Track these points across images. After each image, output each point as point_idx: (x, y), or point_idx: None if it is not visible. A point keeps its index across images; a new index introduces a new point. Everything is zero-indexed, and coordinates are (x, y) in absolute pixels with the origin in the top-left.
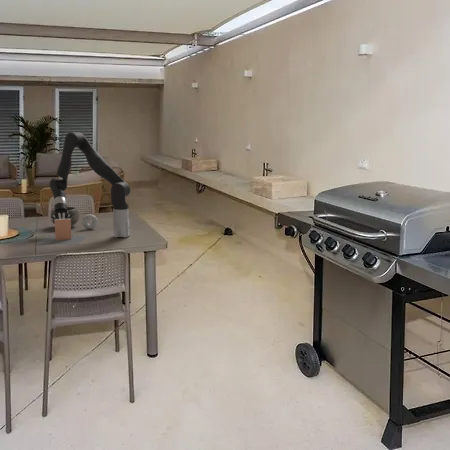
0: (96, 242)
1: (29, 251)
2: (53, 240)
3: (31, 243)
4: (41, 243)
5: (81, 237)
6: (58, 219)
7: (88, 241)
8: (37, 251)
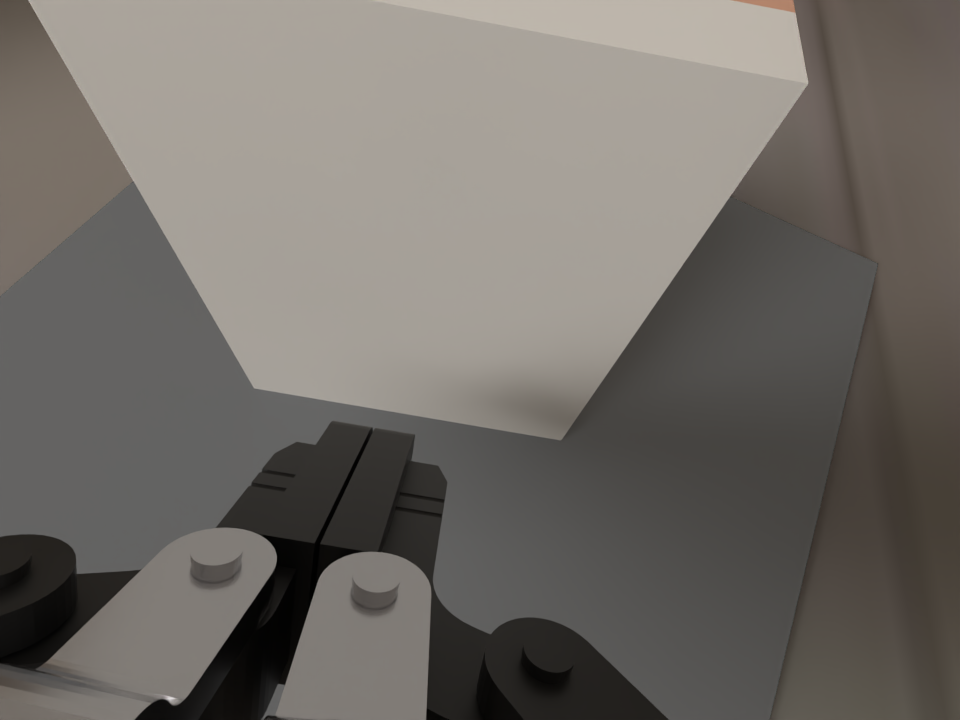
0: (22, 47)
1: (886, 44)
2: (606, 376)
3: (954, 397)
4: (797, 263)
5: (23, 388)
6: (615, 15)
7: (82, 138)
8: (804, 13)
